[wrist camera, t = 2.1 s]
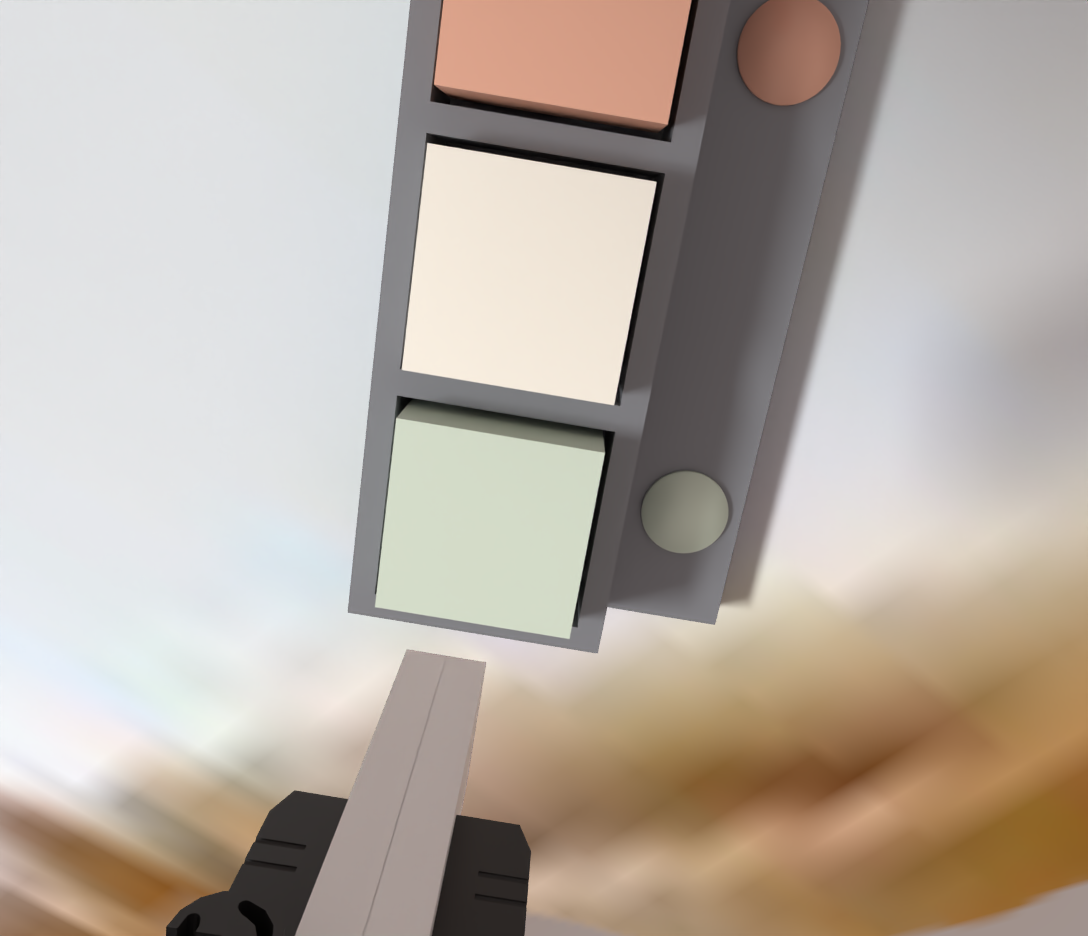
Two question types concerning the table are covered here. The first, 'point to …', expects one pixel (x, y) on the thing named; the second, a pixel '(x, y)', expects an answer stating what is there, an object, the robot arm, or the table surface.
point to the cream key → (525, 273)
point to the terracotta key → (565, 57)
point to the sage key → (488, 517)
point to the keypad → (645, 295)
